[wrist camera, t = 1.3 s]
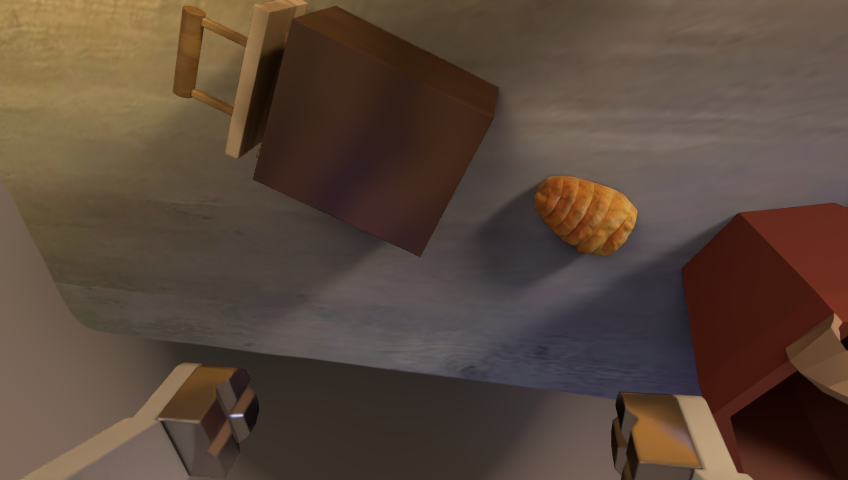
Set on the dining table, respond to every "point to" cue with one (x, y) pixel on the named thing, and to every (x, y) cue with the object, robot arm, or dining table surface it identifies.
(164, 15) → the dining table surface
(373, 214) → the cabinet
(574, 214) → the pastry
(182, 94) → the drawer
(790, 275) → the bucket
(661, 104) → the dining table surface
